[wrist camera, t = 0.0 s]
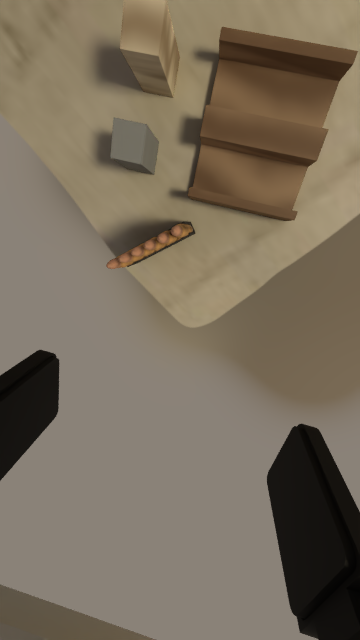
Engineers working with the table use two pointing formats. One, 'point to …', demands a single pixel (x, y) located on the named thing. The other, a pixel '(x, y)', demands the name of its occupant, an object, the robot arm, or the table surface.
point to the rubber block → (134, 146)
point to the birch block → (150, 45)
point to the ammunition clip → (153, 246)
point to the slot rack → (265, 121)
